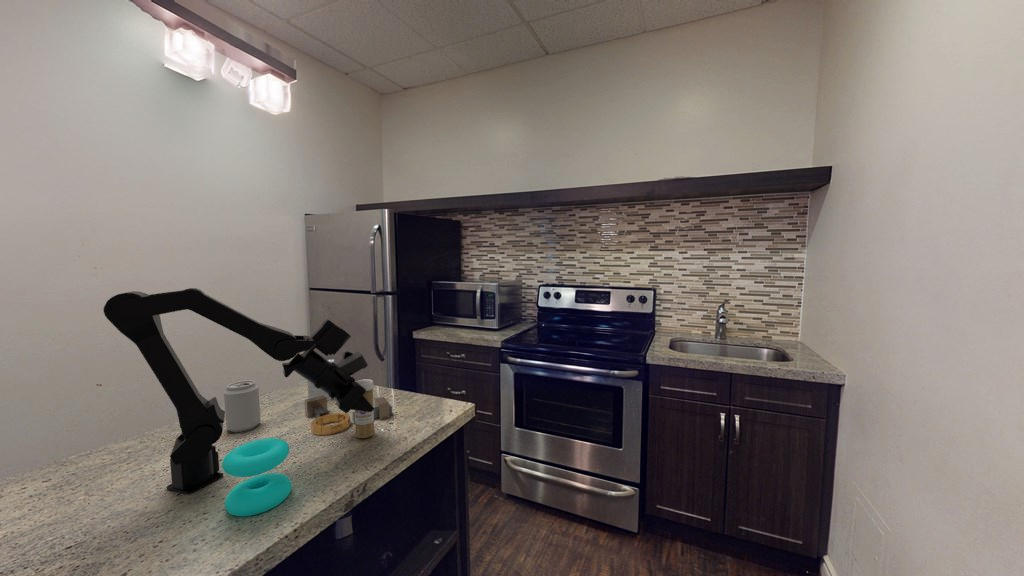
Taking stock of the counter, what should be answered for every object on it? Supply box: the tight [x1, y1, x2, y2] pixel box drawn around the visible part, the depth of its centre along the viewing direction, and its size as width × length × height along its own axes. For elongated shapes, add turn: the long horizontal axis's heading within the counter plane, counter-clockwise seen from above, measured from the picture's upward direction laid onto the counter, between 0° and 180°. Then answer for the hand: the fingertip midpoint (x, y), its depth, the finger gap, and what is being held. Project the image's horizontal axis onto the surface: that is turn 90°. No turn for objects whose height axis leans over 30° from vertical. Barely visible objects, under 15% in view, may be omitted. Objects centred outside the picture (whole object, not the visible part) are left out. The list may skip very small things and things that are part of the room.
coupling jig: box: [304, 395, 393, 436], centre depth 103 cm, size 17×25×4 cm
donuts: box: [221, 437, 293, 517], centre depth 68 cm, size 10×10×10 cm
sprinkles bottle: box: [354, 378, 376, 439], centre depth 93 cm, size 5×5×14 cm
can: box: [223, 379, 262, 433], centre depth 100 cm, size 8×8×12 cm
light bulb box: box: [306, 359, 335, 401], centre depth 123 cm, size 11×7×11 cm, turn 17°
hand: (370, 407), depth 94 cm, fingers closed on sprinkles bottle, 4 cm apart
